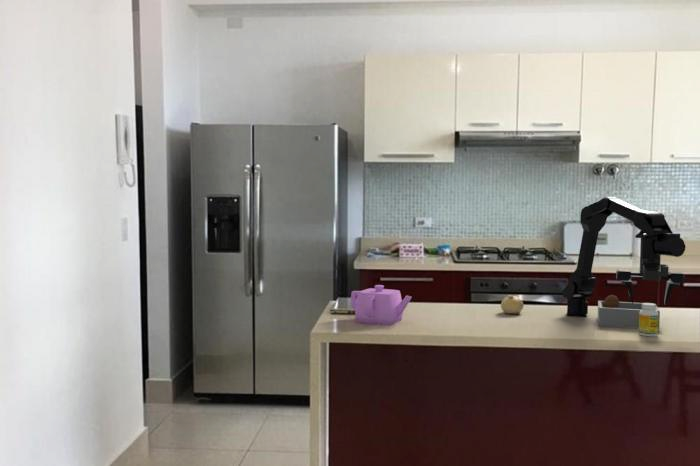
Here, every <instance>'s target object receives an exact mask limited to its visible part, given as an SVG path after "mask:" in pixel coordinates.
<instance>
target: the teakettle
mask: <svg viewBox="0 0 700 466" xmlns="http://www.w3.org/2000/svg"><path fill="white" fill-rule="evenodd" d="M384 287H385V285H382V284H375V285H374V288H372V287H370V288H366V289H363V290H352V291H351V296H350V304H349V307H350V308H351V309H353V310H354V311H355V312H354V316H355V317H354V318H355V321H356V322H357V323H359V322H362V323H361V324H367V323H370V324H369V325H377V324H382V325H381V326H393V325H395V324H397V323H398V321H399V322H401V321H402V319H403V316H404V311H405V309H406V307H407V306H408V304H409V303H410V301H411V299H412V296H410V295H405V297H404V298H403V299H402V294H401V291H400V290H398V289H392V288H391V289H388V288H384ZM400 320H401V321H400ZM396 322H397V323H396ZM394 323H395V324H394ZM392 324H393V325H392Z"/></svg>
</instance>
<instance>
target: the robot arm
mask: <svg viewBox="0 0 700 466" xmlns="http://www.w3.org/2000/svg"><path fill="white" fill-rule="evenodd" d="M613 214H616V215H618V216H621V217H623V218H624V219H627V220H628V221H630V222H632V223H633V226H634V227H635V228H637V229H638V230H640V231H639V232H638V233H637V234H636V235H635V236H634V237H635V238H637V239H640V243H639V244H640V247H639V250H640V251H639V272H633V271H632V272H631V270H630V269H619V268H618V269H617V270H616V274H615V278H616V280H617V281H620V283H621V284H625V287H626V288H627V289H626V290H627V291H628V295H629V298H630V302H632V303H634V292H633V291H634V290H633V282H632V279H637V280H639V279H640V280H641V279H642V280H644V281H655V282H660V281H661V280H662V281H666V284H665V285H666V287H665V293H664V299H663V300H664V301H663V302H664V303H663V304H664V305H665V306H666V305H667V304H668V301H669V300H670V297H671V295H672V293H673V291H674V289H675V288H676V287H680V284H685V283H686V275H685V274H684V272H683V273H682V272H681V271H669V269H670V268H669V264H666V263H665V264H664V263H662V264H661V260H662V259H661V257H662V256H667V257H675V258H680V257H682V256H683V255H684V253H685V251H686V244H685V241H684V240H683V238H682V237H681V233H674V232H673V231H672V229H671V227H670V225H669V224H668V221H667V219H666V216H665V215H664V214H663V212H659V211H652V210H646V209H645V210H644V209H641V208H639V207H636V206H634V205H632V204H630V203H627V202H626V201H623V200H622V199H619V198H618V197H615V196H605V197H603V198H601V199H599V200H597V201H595V202H593V203H590V204H589V205H586V206H583V208H582V209H581V211H580V219H579V220H580V221H579V223H580V225H581V228H582V229H583V230H582V231H583V232H582V235H581V242H580V247H579V251H578V252H579V254H578V259H577V264H576V269H575V270H574V271H573V272H572V274H571V275H570V277H569V280H568V284H567V285H566V286H565V287H564V289H562V291H561V293H562V297H563V298H564V299H567V303H566V304H567V306H566V308H567V309H566V310H567V311H566V316H570V317H571V316H572V317H575V316H576V317H587V315H588V313H589V301H587V299H589V298H592V294H593V292H594V290H595V289H596V283H597V277H594V275H593V271H592V269H593V264H594V258H595V254H596V248H597V244H598V243H597V242H598V238H599V233H600V231H601V230H602V229H603V228H604V227H605V226H606V222H607V220H608V218H609V217H610V216H612V215H613Z"/></svg>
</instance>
